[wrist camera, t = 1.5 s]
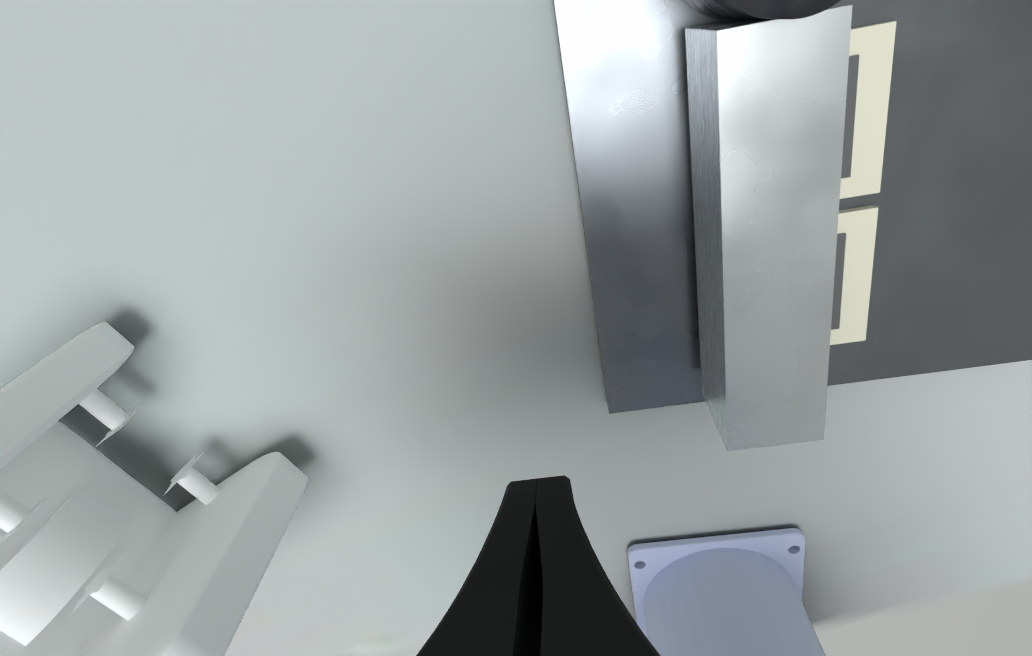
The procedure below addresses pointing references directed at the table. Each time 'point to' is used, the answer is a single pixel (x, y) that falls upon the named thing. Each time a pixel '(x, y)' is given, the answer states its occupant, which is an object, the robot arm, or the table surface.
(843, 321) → the label
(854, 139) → the label
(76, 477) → the cable organizer
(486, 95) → the table surface
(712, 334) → the bar
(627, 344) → the lid
